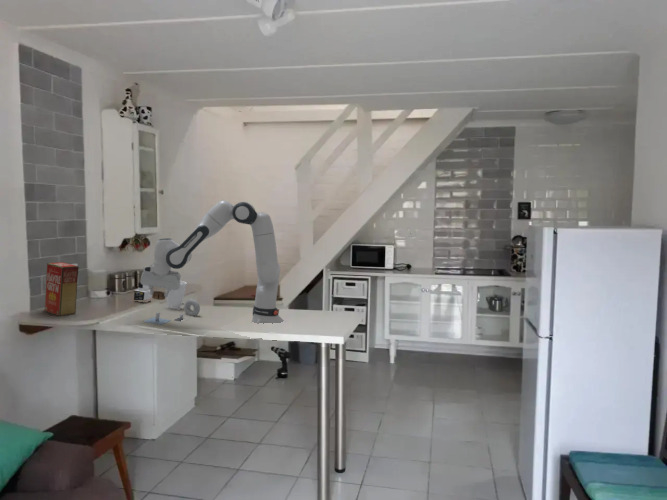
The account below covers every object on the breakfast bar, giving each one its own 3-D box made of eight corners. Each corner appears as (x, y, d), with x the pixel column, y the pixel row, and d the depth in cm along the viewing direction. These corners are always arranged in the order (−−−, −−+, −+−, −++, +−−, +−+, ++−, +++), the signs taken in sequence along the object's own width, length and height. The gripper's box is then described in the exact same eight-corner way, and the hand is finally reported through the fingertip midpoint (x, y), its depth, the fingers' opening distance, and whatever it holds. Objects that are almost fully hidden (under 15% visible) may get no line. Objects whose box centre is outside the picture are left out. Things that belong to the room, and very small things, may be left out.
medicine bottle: (133, 301, 294) (135, 281, 293) (141, 299, 301) (142, 280, 300) (143, 303, 292) (145, 283, 291) (151, 301, 299) (152, 282, 298)
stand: (188, 321, 266) (189, 313, 265) (183, 323, 260) (184, 316, 259) (178, 319, 266) (178, 312, 266) (173, 322, 260) (173, 314, 260)
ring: (166, 298, 257) (167, 292, 256) (161, 300, 251) (162, 294, 250) (156, 295, 257) (156, 290, 257) (150, 297, 251) (151, 292, 251)
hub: (170, 322, 260) (171, 312, 259) (161, 326, 250) (162, 316, 249) (152, 319, 261) (153, 309, 260) (143, 323, 251) (143, 313, 250)
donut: (181, 315, 276) (183, 297, 275) (185, 314, 279) (187, 297, 278) (196, 318, 272) (198, 301, 272) (200, 317, 276) (202, 300, 275)
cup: (171, 312, 279) (173, 284, 278) (159, 307, 286) (161, 280, 285) (188, 310, 289) (191, 283, 287) (176, 305, 296) (179, 279, 294)
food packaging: (43, 310, 252) (46, 262, 250) (60, 308, 260) (63, 261, 258) (59, 316, 246) (62, 267, 244) (76, 313, 254) (80, 266, 252)
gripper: (183, 271, 254) (180, 297, 256) (146, 265, 257) (143, 291, 258) (178, 273, 248) (175, 299, 250) (140, 267, 251) (137, 293, 252)
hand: (159, 295), depth 254 cm, fingers closed on ring, 6 cm apart
